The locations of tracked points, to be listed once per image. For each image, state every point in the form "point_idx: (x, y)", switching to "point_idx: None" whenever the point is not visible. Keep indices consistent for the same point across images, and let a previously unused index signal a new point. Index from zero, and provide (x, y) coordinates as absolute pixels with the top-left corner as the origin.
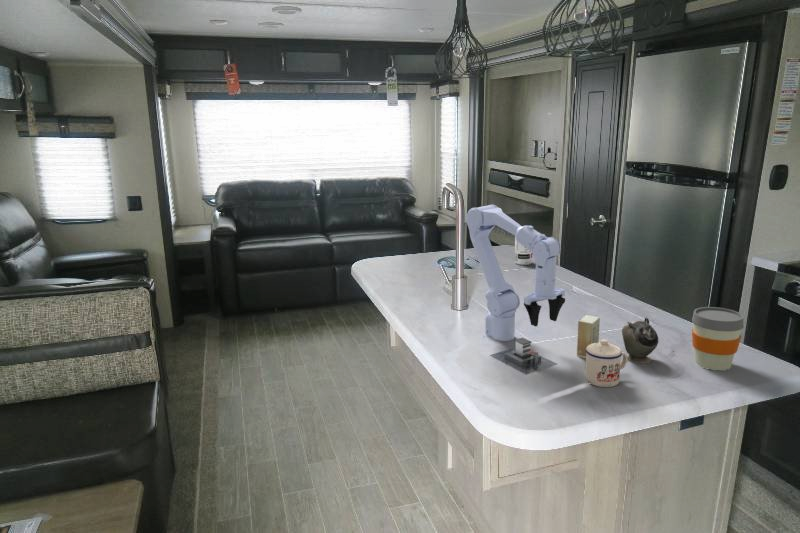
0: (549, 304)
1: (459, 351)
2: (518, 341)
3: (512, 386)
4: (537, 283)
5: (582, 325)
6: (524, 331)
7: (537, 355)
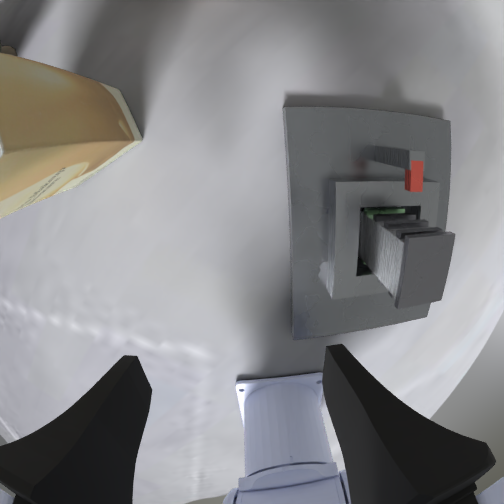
0: (129, 487)
1: (429, 370)
2: (447, 274)
3: (490, 112)
4: None
5: (16, 110)
6: (179, 412)
7: (405, 149)
